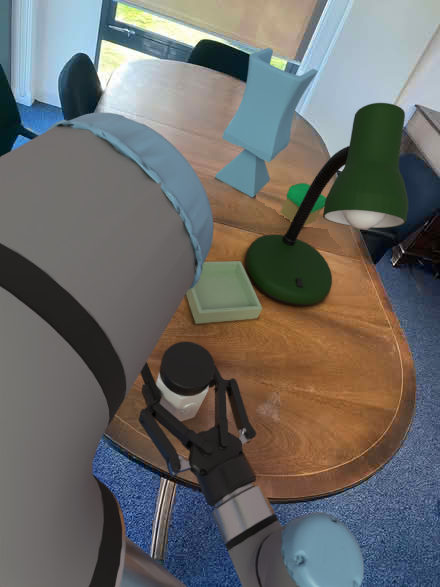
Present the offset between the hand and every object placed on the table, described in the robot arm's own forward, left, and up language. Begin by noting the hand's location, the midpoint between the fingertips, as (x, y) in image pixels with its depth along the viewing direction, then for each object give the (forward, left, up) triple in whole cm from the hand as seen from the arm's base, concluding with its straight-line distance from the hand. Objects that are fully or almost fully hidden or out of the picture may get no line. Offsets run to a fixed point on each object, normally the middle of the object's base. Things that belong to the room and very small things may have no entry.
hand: (170, 358), depth 64 cm
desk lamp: (+37, +22, -8) cm, 43 cm away
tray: (+17, +20, -8) cm, 27 cm away
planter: (+41, +68, -8) cm, 79 cm away
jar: (+1, -4, -7) cm, 8 cm away
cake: (+53, +50, -8) cm, 73 cm away
